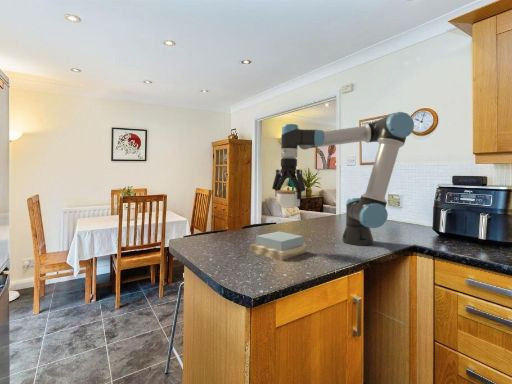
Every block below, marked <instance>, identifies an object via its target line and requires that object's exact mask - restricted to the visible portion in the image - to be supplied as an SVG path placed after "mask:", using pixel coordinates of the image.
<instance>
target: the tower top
mask: <svg viewBox="0 0 512 384" xmlns="http://www.w3.org/2000/svg"><path fill="white" fill-rule="evenodd" d="M255 238H256V239H255V240H256V241H255V244H256V245H260V246H264V247H267V248H271V249H275V250H279V251H283V250H287V249H291V248H294V247H298V246H301V245H303V244H304V236H303V235H298V234H293V233H287V232H283V231H275V232H270V233H263V234H259V235H256V237H255Z"/></svg>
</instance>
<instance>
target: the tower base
mask: <svg viewBox="0 0 512 384" xmlns="http://www.w3.org/2000/svg"><path fill="white" fill-rule="evenodd" d="M249 247H250V253H253V254H256V255H260V256H263V257H267V258H271V259H272V260H273V259H274V260H277V261H284V260H287V259H290V258H293V257H296V256H300V255H302V254H305V253H307V244H305V243H303V245H301V246H298V247H294V248H291V249H287V250H283V251H279V250H275V249H271V248H267V247H264V246H260V245H256V243H253V244H250V246H249Z"/></svg>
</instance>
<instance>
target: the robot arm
mask: <svg viewBox="0 0 512 384" xmlns="http://www.w3.org/2000/svg"><path fill="white" fill-rule="evenodd" d="M414 128H415V122H414V120H413V118H412V117H411V115H410V114H408V113H406V112H403V111H397V112H392V113H390V114H389V115H388V116H386V117H382V118H381V119H378V120H376V121H373V122H370V123H364V124H363V125H362V126H355V127H347V128H346V127H345V128H340V129H332V130H326V131H324V130H323V129H317V128H316V129H302V128H301V129H300V128H299V126H298V124H296V123H295V124H294V123H286V124H283V126H281V143H280V144H281V145H280V146H281V147H280V149H281V150H280V157H281V159H280V167H281V169H276V170H275V176H274V180H273V184H272V190H274V191H275V200H276V201H275V205H279V203H278V201H277V191H278V190H282V187H283V185H284V183H285V181H286V179H290V180H291V182H292V184H293V186H294V188H295V191H296V192H295V207H300V205H301V199H302V192H305V191H306V185H305V182H304V178H303V169H297V166H298V159H297V158H298V148H300V149H301V150H304V151H305V150H309V149H315V148H323V147H330V146H337V145H344V144H353V143H361V142H365V143H367V144H368V143H377V142H378V149H377V152H376V156H375V159H374V163H373V165H372V169H371V173H370V177H369V180H368V183H367V186H366V190H365V192H364V193H363V194H361V196H360V197H351V198H348V199H347V200H346V204H345V206H346V208H345V209H346V212H345V213H346V216H345V220H346V221H345V229H344V232H343V234H342V240H341V241H342V242H343V243H346V244H349V245H354V246H369V245H373V244H374V238H373V234H372V231H371V229H377V228H381V226H383V225H384V224H385V223H386V222H387V221H388V216H389V213H388V211H387V208H386V207H387V203H388V201H387V200H386V194H387V191H388V188H389V184H390V180H391V177H392V174H393V170H394V167H395V164H396V161H397V157H398V153H399V150H400V148H402V147H403V146H405V142H406V139H407V137H408V136H410V135H411V134H412V133H413V132H414ZM295 207H294V208H295Z"/></svg>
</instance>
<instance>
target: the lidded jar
mask: <svg viewBox="0 0 512 384" xmlns="http://www.w3.org/2000/svg"><path fill="white" fill-rule="evenodd" d="M295 192H296V190H293V189H290V187H287V188H286V189H280V190H278V191H277V201H278V203H279V204H278V205H279V206H280V207H281V208H283V209H293V208H295Z"/></svg>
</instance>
